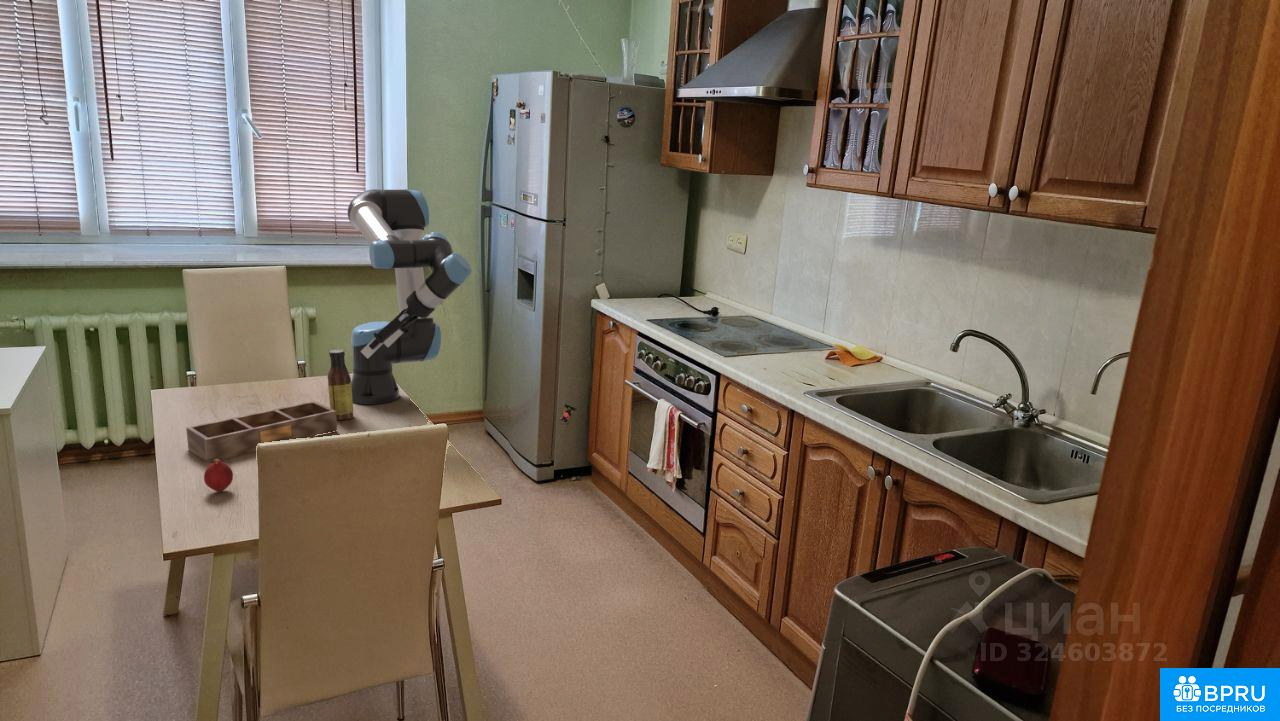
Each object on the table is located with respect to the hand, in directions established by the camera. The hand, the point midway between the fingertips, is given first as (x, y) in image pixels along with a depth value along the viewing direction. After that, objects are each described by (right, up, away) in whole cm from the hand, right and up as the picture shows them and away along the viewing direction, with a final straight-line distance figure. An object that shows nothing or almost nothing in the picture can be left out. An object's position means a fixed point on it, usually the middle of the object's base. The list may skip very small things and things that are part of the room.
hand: (374, 349), depth 231 cm
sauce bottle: (-12, -20, +7) cm, 24 cm away
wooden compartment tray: (-25, -24, -13) cm, 37 cm away
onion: (-20, -33, -45) cm, 60 cm away
